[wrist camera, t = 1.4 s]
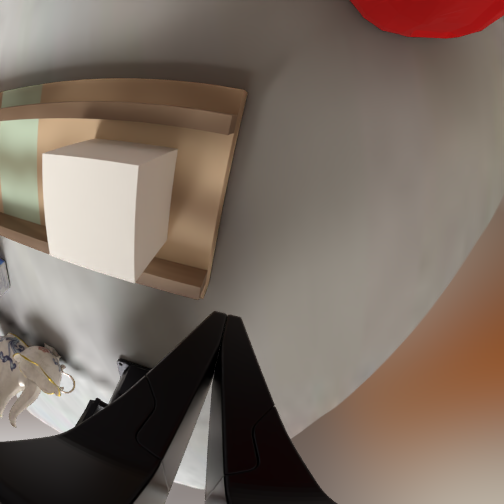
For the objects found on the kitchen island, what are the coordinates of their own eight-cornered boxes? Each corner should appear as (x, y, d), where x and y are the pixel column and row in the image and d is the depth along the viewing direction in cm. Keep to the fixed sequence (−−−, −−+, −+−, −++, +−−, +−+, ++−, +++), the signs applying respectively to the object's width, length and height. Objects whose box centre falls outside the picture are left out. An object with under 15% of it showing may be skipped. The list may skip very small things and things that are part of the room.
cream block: (167, 240, 18) (134, 283, 13) (92, 221, 17) (50, 255, 13) (177, 148, 15) (138, 165, 10) (94, 138, 15) (42, 153, 10)
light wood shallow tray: (208, 283, 21) (196, 317, 18) (-25, 211, 20) (-46, 225, 17) (247, 92, 15) (239, 86, 11) (-28, 101, 14) (-53, 107, 10)
